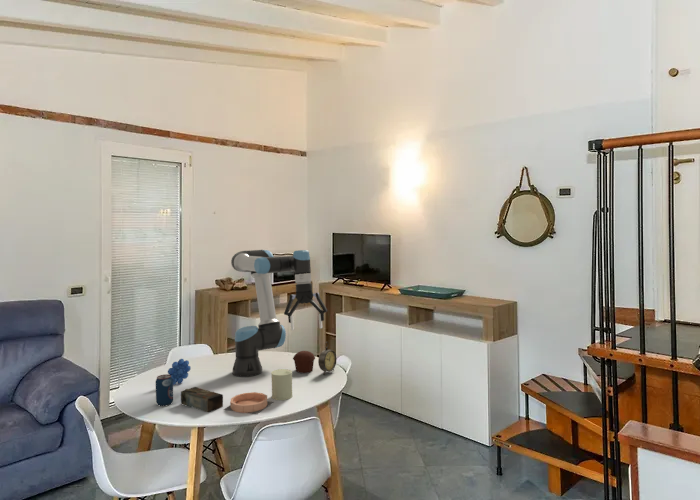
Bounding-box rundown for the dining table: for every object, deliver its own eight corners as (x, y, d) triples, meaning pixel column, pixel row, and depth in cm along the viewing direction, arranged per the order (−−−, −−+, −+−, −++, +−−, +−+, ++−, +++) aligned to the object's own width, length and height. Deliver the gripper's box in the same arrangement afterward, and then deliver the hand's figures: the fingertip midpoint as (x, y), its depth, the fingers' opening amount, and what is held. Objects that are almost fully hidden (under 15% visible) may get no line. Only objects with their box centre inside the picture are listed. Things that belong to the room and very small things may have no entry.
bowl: (223, 410, 192) (223, 403, 192) (243, 397, 207) (243, 390, 206) (255, 414, 187) (255, 407, 187) (273, 401, 201) (273, 394, 201)
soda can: (173, 405, 200) (172, 377, 200) (155, 407, 198) (154, 379, 197) (173, 399, 207) (172, 373, 206) (156, 402, 204) (155, 375, 204)
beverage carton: (196, 399, 208) (195, 384, 208) (224, 408, 197) (223, 393, 196) (180, 404, 202) (180, 389, 201) (208, 414, 190) (208, 398, 190)
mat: (223, 411, 193) (223, 409, 193) (242, 399, 206) (242, 397, 206) (257, 415, 188) (257, 414, 188) (274, 403, 201) (274, 402, 201)
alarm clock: (325, 376, 236) (324, 344, 235) (316, 374, 239) (316, 343, 238) (337, 370, 245) (336, 339, 245) (328, 369, 248) (328, 338, 247)
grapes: (187, 378, 236) (186, 355, 235) (193, 381, 231) (192, 357, 230) (164, 384, 228) (163, 360, 227) (169, 387, 223) (169, 362, 222)
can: (288, 402, 202) (288, 374, 201) (268, 401, 204) (267, 373, 203) (295, 394, 211) (294, 368, 210) (276, 393, 213) (275, 367, 212)
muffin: (316, 367, 252) (315, 348, 252) (315, 373, 241) (314, 354, 241) (293, 367, 252) (293, 349, 252) (292, 374, 241) (291, 354, 240)
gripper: (275, 285, 217) (278, 331, 216) (327, 281, 213) (331, 328, 212) (280, 284, 225) (283, 329, 224) (331, 281, 220) (334, 326, 219)
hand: (306, 329), depth 218 cm, fingers open, 13 cm apart
